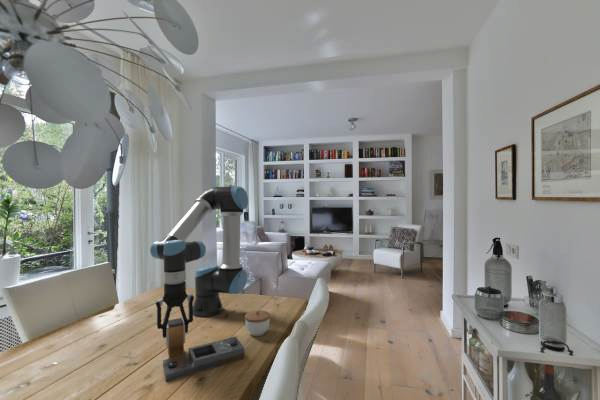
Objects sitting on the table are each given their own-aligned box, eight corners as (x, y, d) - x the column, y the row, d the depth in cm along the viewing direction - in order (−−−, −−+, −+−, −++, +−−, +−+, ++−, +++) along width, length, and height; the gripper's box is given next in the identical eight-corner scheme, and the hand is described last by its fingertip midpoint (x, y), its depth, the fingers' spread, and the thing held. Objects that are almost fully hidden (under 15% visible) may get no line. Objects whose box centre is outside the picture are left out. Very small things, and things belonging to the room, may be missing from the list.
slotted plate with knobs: (162, 366, 102) (162, 352, 102) (235, 346, 115) (235, 335, 115) (166, 381, 94) (165, 366, 94) (244, 358, 107) (244, 345, 107)
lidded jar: (265, 339, 121) (265, 316, 121) (241, 337, 123) (241, 315, 123) (273, 328, 132) (273, 307, 132) (250, 326, 134) (250, 306, 134)
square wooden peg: (167, 352, 112) (167, 320, 112) (181, 348, 114) (181, 317, 114) (169, 358, 107) (168, 325, 107) (183, 354, 110) (183, 322, 110)
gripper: (148, 288, 103) (149, 354, 103) (201, 280, 112) (202, 341, 112) (147, 282, 110) (148, 345, 110) (197, 276, 119) (198, 333, 119)
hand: (175, 343), depth 111 cm, fingers closed on square wooden peg, 5 cm apart
